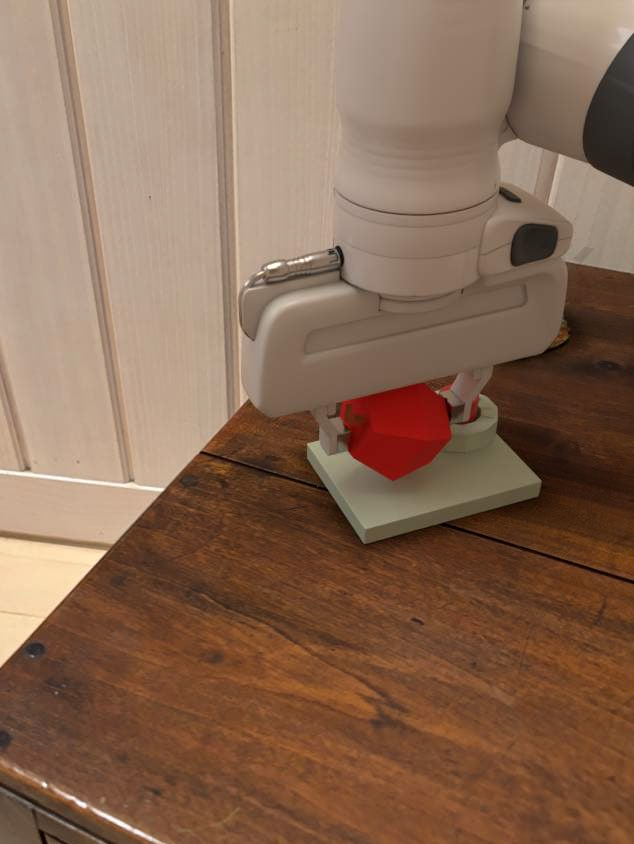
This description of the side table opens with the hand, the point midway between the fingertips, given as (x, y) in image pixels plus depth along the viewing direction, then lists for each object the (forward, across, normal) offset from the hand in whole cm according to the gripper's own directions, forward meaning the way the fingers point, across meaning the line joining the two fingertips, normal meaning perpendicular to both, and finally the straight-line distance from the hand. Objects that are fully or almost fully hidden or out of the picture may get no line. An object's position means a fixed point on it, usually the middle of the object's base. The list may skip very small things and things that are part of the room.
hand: (394, 433), depth 61 cm
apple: (+2, 0, 0) cm, 2 cm away
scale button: (+2, +6, +3) cm, 7 cm away
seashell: (+5, +19, +16) cm, 25 cm away
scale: (+5, +2, 0) cm, 5 cm away
